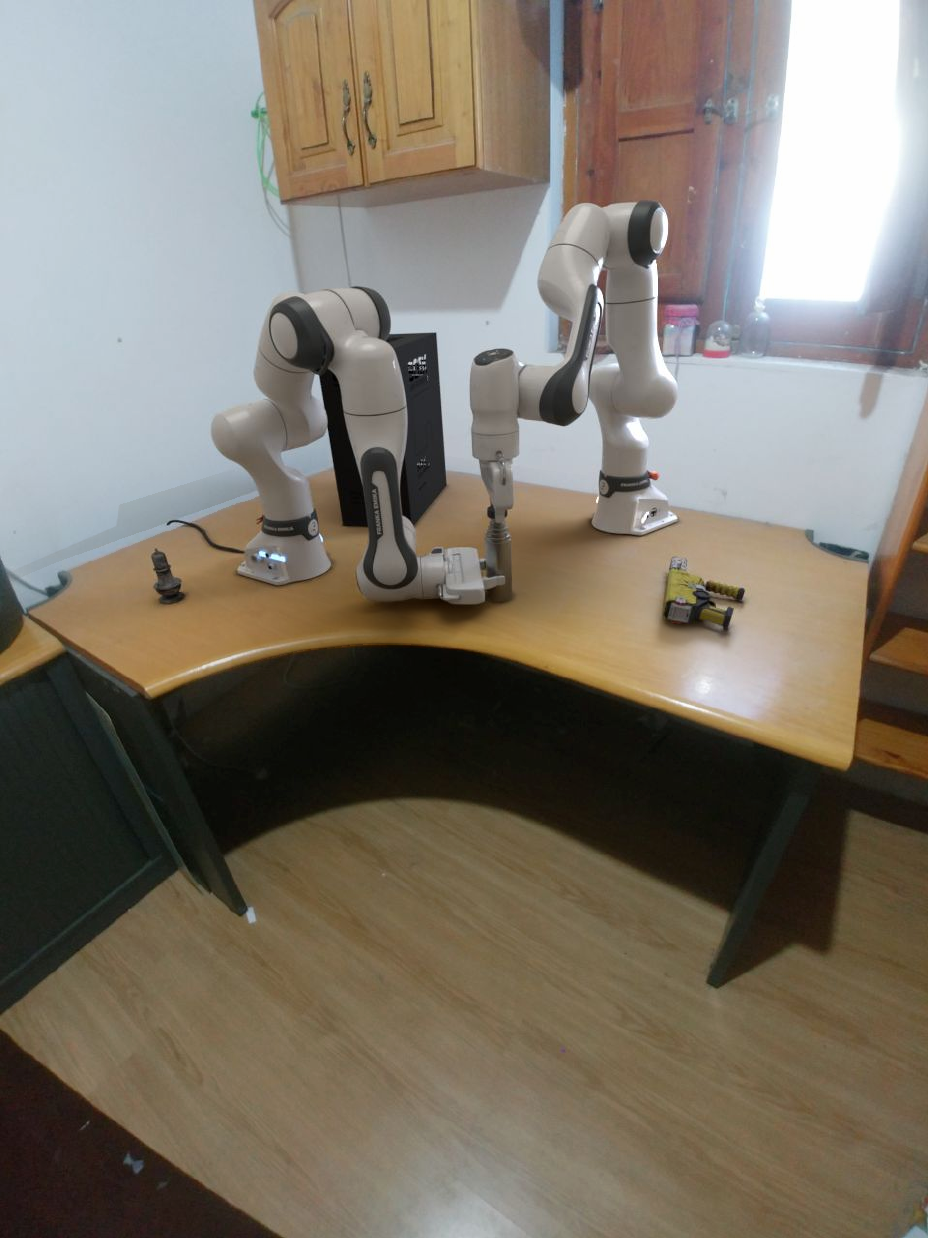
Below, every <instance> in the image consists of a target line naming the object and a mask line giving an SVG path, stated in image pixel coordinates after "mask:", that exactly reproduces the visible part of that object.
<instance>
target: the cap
mask: <svg viewBox="0 0 928 1238" xmlns="http://www.w3.org/2000/svg"><path fill="white" fill-rule="evenodd" d="M494 512H495V509H494V507H493V505H492V506H490V505H489V506H488V507H487V509H486V517H487V518H488V519H490V520H491V519H495V518H494V517H495V516H494ZM507 517H508V509H507V510H505V518H507Z"/></svg>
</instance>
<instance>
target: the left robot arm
mask: <svg viewBox="0 0 928 1238" xmlns="http://www.w3.org/2000/svg"><path fill="white" fill-rule="evenodd" d="M391 328H392V320H391V312H390V310H389V306H388V305H387V302H386V301H385V299H384V297H383V296H382V295H381V294H380V293H379V292H378V291H377V290H375V289H373V288H370V287H365V286H359V285H355V286H354V285H353V286H351V287H334V288H333V287H332V288H324V289H322V290H318V291H313V292H310V293H303V292H300V291H296V290H295V291H294V290H286V291H282V292H280V293H278V294H277V295H276V296H275V297H274V298H273V299H272V301H271V303H270V306H269V307H268V310H267V312H266V314H265V317H264V320H263V322H262V327H261V330H260V333H259V337H258V338H259V339H258V344H257V351H256V356H255V359H254V367H253V372H252V373H253V380H254V382H255V385H256V387H257V389H258V390H259V391H260V392H261V394H262V395H264V396H265V397H266V398H263V399H261V400H255V401H251V402H245V403H240V404H235V405H233V406H230V407H227V408H225V409H223V410H222V411H219V412H217V413H216V414H214V416H213V417H212V420H211V424H210V437H211V440H212V442H213V445H214V447H215V448H216V449H217V451H218V452H219V453H220V454H221V455H222V456H223V457H225V459H228V460H230V461H232V462H234V463H235V464H238V465H239V466H240V467H241V468H242V469H244V470H245V471H246V472H247V474H249V476H250V477H251V478H252V480H253V483H254V484H255V487H256V489H257V492H258V495H259V499H260V502H261V507H262V510H263V514H262V515H261V517H259V518H257V519H255V521H256V525H259V524H261V529H260V531H259V532H258V533H256V535H255V536H254V537H253V538H252V539H251V540H250V541H249V542H247V544H246V545H245V547H244V550H240V549H239V548H238V549H237V548H233V547H228V546H223V545H220V544H216V543H214V542H212V540H211V539H210V538H209V536H208V535H207V533H206V531H205V530H204V529H203V528H202V527H201V526H200V525H198V524H196V523H192V522H189V521H184V520H180V519H171V520H168V521H167V522H166V526H170V525H171V524H173V523H177V524H178V523H179V524H182V525H183V524H184V525H186V526H191V527H195V528H196V529H198V530H199V531H200V532H201V533H202V535H203V537H204V539H205V540H206V541H207V542H208V544H210V546H213V547H215V548H216V549H217V548H218V549H220V550H225V551H230V552H235V553H238V554H244V561H243V562H242V563H240V564H239V566H238V567H237V568H236V571H237V574H238V575H239V576H240V575H241V576H244V577H247V578H249V579H250V578H251V579H254V580H256V581H261V582H263V583H267V584H269V585H274V586H283V585H287V584H290V583H294V582H300V581H301V582H302V581H305V580H309V579H314V578H316V577H319V576H320V575H323V574H324V573H326V572H327V571H328V570H329V569H330V568H331V566H332V562H331V560H330V558H329V556H328V555H327V552H326V549H325V547H324V544H323V542H324V540H323V537H322V535H321V534H320V527H319V519H318V514H317V509H316V508H315V506H314V502H313V497H312V492H311V487H310V481H309V479H308V477H307V476H306V474H305V473H304V472H302V471H301V470H299V469H297V468H295V467H292V466H289V465H285V462H284V461H283V458H282V452H283V453H284V452H287V451H291V450H295V449H299V448H302V447H306V446H308V445H310V444H312V443H314V442H316V441H318V440H320V439H322V438H323V437H324V436H325V435H326V433H327V431H328V428H327V424H328V420H327V414H326V411H325V409H324V404H323V403H321V401H320V400H319V399H318V398H317V397H315V396H314V395H312V392H313V391H312V390H313V386H314V385H313V384H314V380H315V376H316V375H317V376H319V375H322V374H324V373H325V372H326V370H327V368H328V369H330V370H331V371H332V372H333V373H334V374H335V376H336V377H337V379H338V381H339V384H340V388H341V395H342V404H343V410H344V417H345V422H346V426H347V431H348V435H349V438H350V442H351V445H352V449H353V452H354V456H355V459H356V463H357V466H358V470H359V474H360V477H361V481H362V485H363V491H364V498H365V506H366V514H367V522H368V526H367V529H368V537H367V542H366V545H365V550H364V553H363V555H362V556H361V557H362V558H361V559H360V561H359V563H358V564H357V566H356V568H355V578H356V584H357V587H358V590H359V592H360V594H361V595H362V596H363V598H364V599H365V600H368V601H372V602H380V603H381V602H384V603H385V602H386V603H390V602H403V601H406V600H410V599H418V600H430V599H431V600H432V599H440V600H443V602H447V603H449V604H452V605H480V604H482V603H484V602H485V600H486V593H485V590H487V589H490V588H493V587H495V586H497V585H504V584H505V576H504V574H496V576H495V577H491V578H488V577H486V576H483V573H482V571H486V559H485V558H479V553H478V552H479V551H478V549H477V548H474V547H471V546H459V547H448V548H445V549H444V547H443V546H435V547H433V548H432V549H431V551H430V552H429V553H428V554H426V556H425V555H424V556H418V544H417V543H418V542H417V541H418V539H417V537H418V536H417V531H416V528H415V525H414V526H413V524H412V522H411V521H410V520H409V519H408V518H407V517H405V516H403V515H402V509H401V499H400V478H401V470H402V465H403V459H404V454H405V448H406V441H407V424H408V420H407V405H406V396H405V390H404V384H403V379H402V374H401V371H400V367H399V363H398V360H397V356H396V353H395V351H394V349H393V348H392V346H391V345H390V344H389V343H387V342H386V340H387V339H388V337H389V334H391Z"/></svg>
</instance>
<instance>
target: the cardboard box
mask: <svg viewBox="0 0 928 1238" xmlns="http://www.w3.org/2000/svg"><path fill="white" fill-rule="evenodd" d="M386 342H387V343H389V344H390V345H391V346H392V348H393V349H394V351H395V353H396V356H397V360H398V363H399V367H400V371H401V374H402V379H403V384H404V390H405V396H406V405H407V420H408V424H407V441H406V448H405V454H404V459H403V465H402V470H401V478H400V499H401V509H402V515H403V516H405V517H407V518H408V519H409V520H410V521H411V522H412V524H413V526H414V527H415V525H416V524H417V523H418V521H419V520H420V519H421V517H422V516H423V515H424V514H425V512H426V511H427V510H428V509H429V507H430V506H431V505H432V504H433V502H434V501H435V500H436V499H437V498H438V496H440V494H441V493H442V491H443V490H445V488H446V486H447V484H448V483H447V472H446V471H447V469H446V456H445V455H446V454H445V453H446V452H445V439H444V425H443V409H442V396H441V381H440V380H441V379H440V365H439V350H438V335H437V332H416V333H415V332H412V333H410V332H409V333H390V334H389V337H388V339H387V340H386ZM419 358H420V360H419ZM415 361H416V362H415ZM410 363H412V364H410ZM318 378H319V384H320V390H321V397H322V405H323V407H324V409H325V411H326V414H327V420H328V424H327V435H328V440H329V446H330V447H329V448H330V454H331V457H332V465H333V471H334V478H335V483H336V490H337V495H338V496H337V497H338V502H339V508H340V514H341V515H340V516H341V521H342V526H355V527H368V522H367V514H366V506H365V498H364V491H363V485H362V481H361V477H360V474H359V470H358V466H357V463H356V459H355V456H354V452H353V449H352V445H351V442H350V438H349V435H348V431H347V426H346V422H345V417H344V410H343V404H342V395H341V388H340V384H339V381H338V379H337V377H336V376H335V374H334V373H333V372H332V371H331V370H330V369H328V368H327V370H326V372H325V373H324V374H322V375H318Z"/></svg>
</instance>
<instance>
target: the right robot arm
mask: <svg viewBox="0 0 928 1238" xmlns="http://www.w3.org/2000/svg"><path fill="white" fill-rule="evenodd" d="M668 221H669V219H668V215H667V212H666V210H665V209H664V207H663V206H662V205H661V203H660V202H658V201H654V200H645V199H641V200H639V201H638V202H637V201H633V202H631V201H630V202H629V201H627V202H617V203H612V204H611V203H610V204H609V205H607V206H603V207H602V206H599V205H598V204H594V203H591V202H581V203H578V204H576V205H574V206H573V207H572V208H570V209H569V210H568V212H567V213H566V214H565V215H564V217H563V219H562V220H561V222H560V223H559V225H558V227H557V229H556V231H555V232H554V234H553V236H552V238H551V240H550V242H549V244H548V246H547V249H546V250H545V251H546V253H545V254H544V257H543V259H542V261H541V264H540V266H539V270H538V275H537V280H536V281H537V282H536V285H537V290H538V293H539V297H540V298H541V300H542V302H543V303H544V305H545V306H546V307H547V308H548V309H549V310H550V311H551V312H552V313H553V314H555V315H556V316H558V317H560V318H563V319H565V320H567V321H569V322H570V323H572V324H571V330H570V334H569V337H568V343H567V348H566V352H565V356H564V359H563V361H561V362H560V363H558V364H556V365H539V364H538V365H536V364H530V363H529V364H527V363H526V362H523V361H520V360H519V359H518V358H517V357H516V354H515V352H514V351H513V350H511V349H510V348H509V349H508V348H502V347H501V348H493V349H487V350H485V351H481V352H480V353H477V355H476V356H475V357H474V358H473V359H472V362H471V366H470V374H469V407H470V410H471V414H472V424H471V428H470V434H471V435H470V436H471V455H472V457H473V458H474V459H476V460H478V464H479V471H480V476H481V479H482V482H483V483H484V487H485V489H486V491H487V492H486V493H487V494H488V497H489V506H492V505H493V507H494V509H495V512H494V516H495V517H494V518H495V522H496V523H503V522H504V521H506V517H505V510H507V511H508V510H512V509H513V508H514V505H515V490H514V489H515V487H514V473H513V468H512V465H513V464H514V459H515V458H517V457H518V456H519V455H520V423H519V420H518V419H522V420H528V421H533V422H534V421H536V422H542V423H547V424H550V425H555V426H560V427H567V426H569V425H570V426H571V424H573V423H574V422H575V421H577V420H578V419H579V418H580V417H581V416H582V415H583V413H584V412H585V411H586V408H587V406H588V401H590V402H591V404H592V405H593V407H594V409H595V412H596V414H597V415H596V416H597V419H598V422H599V427H600V432H601V440H602V447H601V448H602V449H601V450H602V451H601V468H600V470H599V474H598V492H599V493H598V495H597V498H596V507H595V511H594V514H593V517H592V520H591V525H592V526H593V527H594V528H595V529H597V530H599V531H601V532H605V533H611V534H623V535H625V534H626V535H632V536H633V535H634V536H645V535H646V534H650V533H652V532H654V531H657V530H660V529H662V528H665V527H668V526H670V525H672V524H675V523H677V522H678V516H677V515H676V514H675V513H674V512H672V511H670V503H669V502H670V501H669V498H668V497H667V496H666V495H665V494H664V493H663V492H661V491H660V490H659V489H658V488H656V487H655V486H654V485H652V483H651V480H653V481H658V479H659V478H660V473H659V472H657V471H654V470H651V471H649V470H648V469H647V466H648V458H649V457H648V456H649V446H650V441H649V437H648V435H647V434H646V432H645V431H644V429H643V427H642V425H641V422H640V420H655V419H661V418H664V417H666V416H667V415H669V413H670V412H671V411H672V410H673V408H674V407H675V405H676V402H677V400H678V396H679V386H678V383H677V380H676V379H675V377H673V375H672V374H671V373H670V372H669V370H668V368H667V366H666V363H665V361H664V357H663V355H662V351H661V349H660V343H659V336H658V294H659V293H658V286H659V285H658V269H657V263H656V262H657V259H658V258H659V257H660V256H661V254H662V252H663V250H664V248H665V246H666V243H667V239H668V235H669V234H668V233H669V222H668ZM602 271H607V272H606V282H605V301H604V295H603V292H602V290H601V289H600V287H599V286H598V281H599V277H600V275H601V272H602ZM604 302H605V303H604ZM604 305H605V307H604ZM604 308H605V339H606V343H607V345H608V347H610V349H611V350H612V352H613V354H614V355H615V358H616V361H617V362H615V363H614V362H613V363H607V364H603V365H600V366H597V367H596V368H595V369H594V370H593V364H594V360H595V357H596V353H597V352H596V351H597V345H598V342H599V337H600V332H601V328H602V324H603V323H602V322H603V317H604V316H603V315H604ZM592 370H593V371H592Z"/></svg>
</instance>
